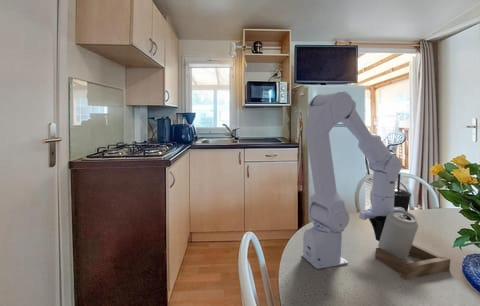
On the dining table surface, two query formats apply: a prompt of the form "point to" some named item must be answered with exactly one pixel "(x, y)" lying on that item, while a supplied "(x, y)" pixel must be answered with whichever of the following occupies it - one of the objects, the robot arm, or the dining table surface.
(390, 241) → the can
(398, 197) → the drinking cup
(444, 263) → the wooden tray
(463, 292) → the dining table surface
